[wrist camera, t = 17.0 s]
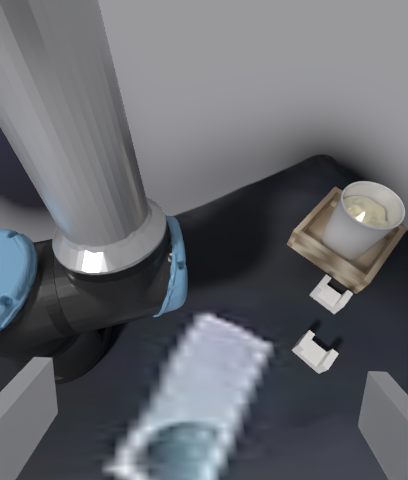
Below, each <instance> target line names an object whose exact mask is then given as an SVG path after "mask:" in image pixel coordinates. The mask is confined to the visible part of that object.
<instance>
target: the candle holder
mask: <svg viewBox="0 0 408 480" xmlns="http://www.w3.org/2000/svg"><path fill="white" fill-rule="evenodd" d="M404 217H405V207H404V204H403V202H402V201H401V199H400V198H399V197H398V196H397V195H396V194H395V193H394V192H393V191H392V190H390V189H389V188H387V187H385V186H383V185H381V184H378V183H374V182H368V181H359V182H354V183H352V184H350V185H348V186H347V187H346V188H345V189H344V190H343V192H342V194H341V197H340V198H339V200H338V202H337V204H336V206H335V208H334V210H333V212H332V214H331V216H330V218H329V220H328V222H327V224H326V225H325V227H324V229H323V232H322V234H321V242H322V245H323V246H324V247H326V248H327V249H329V250H330V251H332V252H333V253H335V254H336V255H338V256H339V257H341V258H342V259H344V260H345V261H352V260H356V259H358V258H359V257H361V256H362V255H363V254H365V253H366V252H367V251H368V250H369V249H371V248H372V247H373V246H374V245H375V244H376V243H378V242H379V241H380V240H381V239H382V238H384V237H385V236H386V235H387V234H388V233H389V232H391V231H392V230H393V229H394V228H395V227H397V226H398V225H400V224H401V223H402V221H403V219H404Z"/></svg>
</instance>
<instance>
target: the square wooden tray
mask: <svg viewBox="0 0 408 480" xmlns="http://www.w3.org/2000/svg"><path fill="white" fill-rule="evenodd" d="M342 192H343V191H342V190H340V189H339V188H337V187H334V188H333V189H332V190H331V191H330V192H329V194H328V195H327V196H326V197H325V198H324V199H323V200H322V201H321V202H320V203H319V204H318V205H317V206H316V207H315V208H314V209H313V211H312V212H311V213H310V214H309V215H308V216H307V217H306V218H305V219H304V220H303V221H302V222H301V223H300V224H299V225H298V226H297V228H296V229H295V230H294V231H293V233H292V235H291V237H290V239H289V241H288V243H287V245H288V246H290V247H291V248H293V249H294V250H295V251H297V252H298V253H300V254H301V255H302V256H304V257H305V258H307V259H308V260H309V261H311V262H312V263H314V264H315V265H317V266H318V267H319V268H321V269H322V270H324V271H325V272H326V273H328V274H329V275H331V276H332V277H333V278H335V279H336V280H338V281H339V282H340V283H342V284H343V285H345V286H346V287H347V288H349V289H350V290H352V291H353V292H354V293H356V294H357V293H358V292H360V291H361V290H362V289H363V288H365V287H366V286H367V285H368V284H369V283H370V282H371V281H372V279H373V278H374V276H375V275H376V274H377V272H378V271H379V269H380V268H381V266H382V265H383V263H384V262H385V260H386V259H387V258H388V256H389V255H390V253H391V252H392V250H393V249H394V247H395V246H396V245H397V243H398V242H399V240H400V239H401V237H402V236H403V234H404V233H405V232H406V230H407V228H406V227H404V226H402V225H401V224H400V225H398V226H397V227H395V228H394V229H393V230H392V231H391V232H389V233H388V234H387V235H386V236H385V237H384V238H382V239H381V240H380V241H379V242H378V243H376V244H375V245H374V246H373V247H372V248H371V249H369V250H368V251H367V252H366V253H365V254H363V255H362V256H361V257H359V258H358V259H356V260H352V261H345V260H344V259H342V258H341V257H339V256H338V255H336V254H335V253H333V252H332V251H330V250H329V249H327V248H326V247H324V246H323V245H322V242H321V234H322V232H323V229H324V227H325V225H326V224H327V222H328V220H329V218H330V216H331V214H332V212H333V210H334V208H335V206H336V204H337V202H338V200H339V198H340V197H341V194H342Z"/></svg>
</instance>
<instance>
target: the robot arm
mask: <svg viewBox="0 0 408 480" xmlns="http://www.w3.org/2000/svg"><path fill="white" fill-rule="evenodd" d="M0 127H1V128H2V130H3V132H4V134H5V135H6V137H7V139H8V141H9V142H10V144H11V146H12V147H13V149H14V151H15V153H16V154H17V156H18V158H19V160H20V161H21V163H22V165H23V167H24V168H25V170H26V172H27V173H28V175H29V177H30V179H31V180H32V182H33V184H34V186H35V187H36V189H37V191H38V193H39V194H40V196H41V198H42V200H43V201H44V203H45V205H46V206H47V208H48V210H49V212H50V213H51V215H52V217H53V219H54V220H55V222H56V224H57V228H56V230H55V233H54V235H53V239H50V240H45V241H40V242H32V241H31V240H30V239H29V238H28V237H27V236H26V235H23V234H19V233H17V232H16V231H13V230H9V229H0V356H1V357H4V358H8V359H10V360H11V361H12V363H13V364H14V366H15V367H16V369H17V370H18V371H19V373H18V374H17V375H16V376H15V377H14V379H13V380H12V381H11V382H10V383H9V384H8V385H7V386H6V387H5V388H4V389H3V390H2V391H1V392H0V480H15V479H16V478H17V476H18V475H19V473H20V471H21V470H22V468H23V467H24V465H25V464H26V462H27V460H28V459H29V457H30V456H31V454H32V453H33V451H34V449H35V448H36V446H37V445H38V443H39V442H40V440H41V438H42V437H43V435H44V434H45V432H46V431H47V429H48V427H49V426H50V424H51V423H52V421H53V419H54V418H55V416H56V415H57V413H58V410H57V400H56V390H55V384H63V383H67V382H70V381H73V380H75V379H77V378H79V377H81V376H82V375H84V374H85V373H87V372H88V371H89V370H90V369H91V368H93V367H94V366H95V365H96V363H97V362H98V361H99V360H100V359H101V357H102V356H103V354H104V352H105V351H106V349H107V346H108V344H109V341H110V338H111V333H112V326H114V325H118V324H122V323H126V322H130V321H135V320H139V319H144V318H148V317H158V316H160V315H161V314H162V313H166V312H169V311H172V310H176V309H178V308H180V307H181V306H182V305H183V304H184V302H185V300H186V296H187V288H188V277H187V267H186V264H185V262H186V257H185V248H184V242H183V237H182V232H181V229H180V226H179V223H178V221H177V219H176V218H175V217H172V216H166V215H165V214H164V212H163V210H162V209H161V207H160V206H159V205H158V204H157V203H156V202H154V201H153V200H151V199H149V198H147V197H146V195H145V191H144V187H143V183H142V179H141V175H140V171H139V167H138V163H137V158H136V154H135V150H134V146H133V142H132V138H131V134H130V130H129V126H128V122H127V118H126V113H125V109H124V105H123V101H122V97H121V93H120V89H119V85H118V81H117V77H116V72H115V68H114V64H113V61H112V56H111V52H110V48H109V44H108V40H107V36H106V32H105V27H104V23H103V20H102V15H101V11H100V7H99V3H98V0H0ZM358 427H359V429H360V431H361V433H362V434H363V436H364V438H365V440H366V441H367V443H368V445H369V446H370V448H371V450H372V452H373V453H374V455H375V457H376V458H377V460H378V462H379V464H380V465H381V467H382V469H383V470H384V472H385V474H386V476H387V477H388V479H389V480H408V395H407V394H406V393H405V392H404V391H403V390H402V388H401V387H400V386H399V385H398V384H397V383H396V382H395V381H394V379H393V378H392V377H391V376H390V375H389V374H388V373H387V372H374V371H368V375H367V381H366V386H365V391H364V397H363V402H362V407H361V412H360V418H359V423H358Z"/></svg>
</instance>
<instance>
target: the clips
mask: <svg viewBox="0 0 408 480" xmlns="http://www.w3.org/2000/svg"><path fill="white" fill-rule="evenodd" d="M330 280H331V277H329V276H328V275H327V274H326V275H325V277H324V278H323V279H322V280H321V281H320V282H319V284H318V285H317V286H316V287H315V289H314V290H313V291H312V292H311V294H310V296H311V297H312V298H314V299H315V300H316V301H318V302H319V303H320V304H322V305H323V306H324V307H326V308H327V309H328V310H329V311H331V312H332V313H333V314H335V313H336V312H338V311H339V310H340V309H341V308H343V307H344V306H345V304H346V303H347V302H348V300H349V299H350V297H351V296H352V295H353V293H352V292H350V291H349V290H347V291H346V292H344V293H343V294H342V295H341V294H339V293H338V292H336V291H335V290H334V289H332V288H331V287H330V286H328V285H327V283H328V282H329V281H330ZM314 335H315V334H314V333H313V332H311V331H310V330H309V331H308V332H306V333H305V334H304V335H303V336H302V337H301V338H300V339H299V341H298V342H297V343H296V345H295V346H294V347H293V349H292V351H293V352H294V353H295V354H296V355H298V356H299V357H300V358H301V359H302V360H303V361H305V362H306V363H307V364H308V365H309V366H310V367H311V368H313V369H314V370H315V371H316V372H317V373H318V374H319V373H321V372H324V371H326V370H328V369H329V368H330V366H331V365H332V363H333V362H334V360H335V358H336V357H337V355H338V353H337V352H336V351H335V350H334V349H331V350H329V351H328V352H326V351H325V350H323V349H322V348H321V347H320V346H318V345H317V344H316V343H315V342H314V341H312V340H311V339H312V338H313V337H314Z"/></svg>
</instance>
